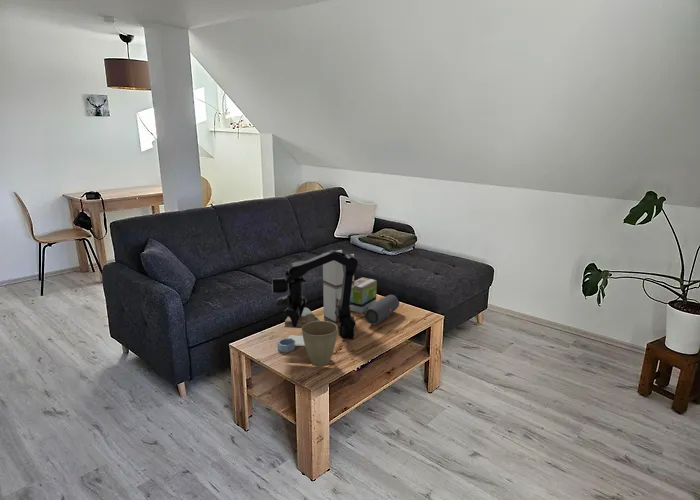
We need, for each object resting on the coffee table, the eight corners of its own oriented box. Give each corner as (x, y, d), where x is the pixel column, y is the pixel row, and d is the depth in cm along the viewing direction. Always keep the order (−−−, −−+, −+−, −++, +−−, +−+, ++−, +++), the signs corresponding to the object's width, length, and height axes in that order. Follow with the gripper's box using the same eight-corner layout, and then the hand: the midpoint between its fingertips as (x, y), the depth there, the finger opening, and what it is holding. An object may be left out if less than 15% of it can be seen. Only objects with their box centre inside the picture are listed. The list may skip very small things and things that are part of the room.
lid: (307, 322, 216) (307, 315, 215) (304, 328, 210) (304, 320, 209) (288, 321, 217) (288, 314, 216) (284, 327, 211) (284, 319, 210)
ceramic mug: (303, 328, 230) (303, 314, 228) (296, 322, 237) (296, 308, 235) (322, 324, 235) (322, 310, 234) (315, 318, 242) (315, 304, 240)
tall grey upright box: (336, 325, 233) (335, 258, 224) (323, 319, 242) (322, 253, 232) (354, 320, 240) (354, 254, 231) (341, 313, 248) (341, 249, 239)
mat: (310, 338, 220) (310, 336, 220) (305, 348, 211) (305, 346, 210) (289, 337, 221) (289, 335, 221) (284, 346, 212) (283, 344, 212)
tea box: (362, 313, 248) (362, 287, 244) (346, 309, 253) (346, 284, 250) (376, 304, 260) (377, 279, 256) (361, 301, 266) (361, 276, 262)
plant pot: (345, 361, 199) (345, 327, 194) (320, 375, 188) (319, 339, 184) (320, 350, 208) (319, 317, 204) (295, 363, 197) (294, 328, 193)
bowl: (296, 346, 212) (296, 338, 211) (292, 354, 205) (292, 346, 204) (280, 346, 213) (280, 337, 212) (276, 353, 206) (276, 345, 205)
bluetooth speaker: (379, 328, 230) (380, 309, 228) (363, 324, 235) (363, 306, 232) (400, 313, 249) (400, 295, 246) (384, 309, 254) (384, 292, 251)
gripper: (283, 283, 219) (284, 314, 223) (271, 298, 201) (273, 331, 206) (306, 284, 218) (307, 315, 222) (297, 299, 200) (298, 332, 204)
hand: (296, 323), depth 213 cm, fingers closed on lid, 6 cm apart
